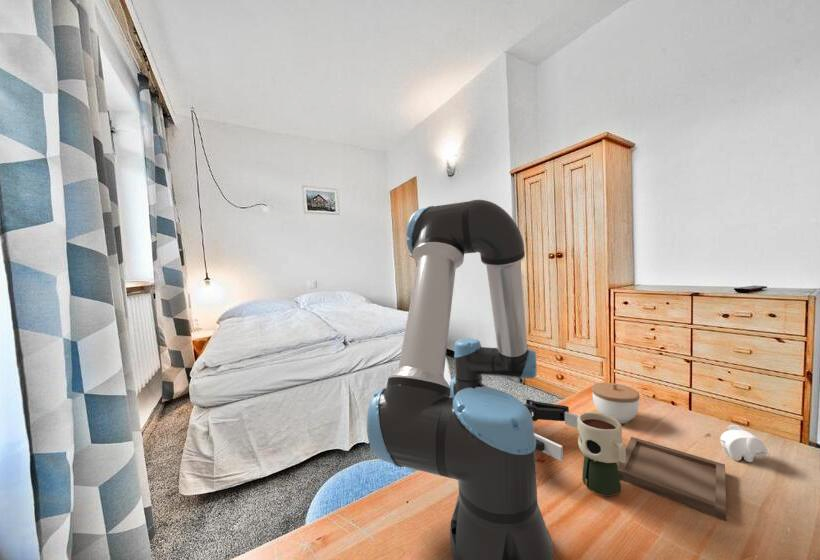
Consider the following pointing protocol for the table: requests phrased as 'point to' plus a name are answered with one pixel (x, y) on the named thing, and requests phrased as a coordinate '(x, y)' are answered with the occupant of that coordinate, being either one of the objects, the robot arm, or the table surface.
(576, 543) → the table surface
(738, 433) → the elephant figurine
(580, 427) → the character mug
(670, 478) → the walnut tray
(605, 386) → the lidded jar
